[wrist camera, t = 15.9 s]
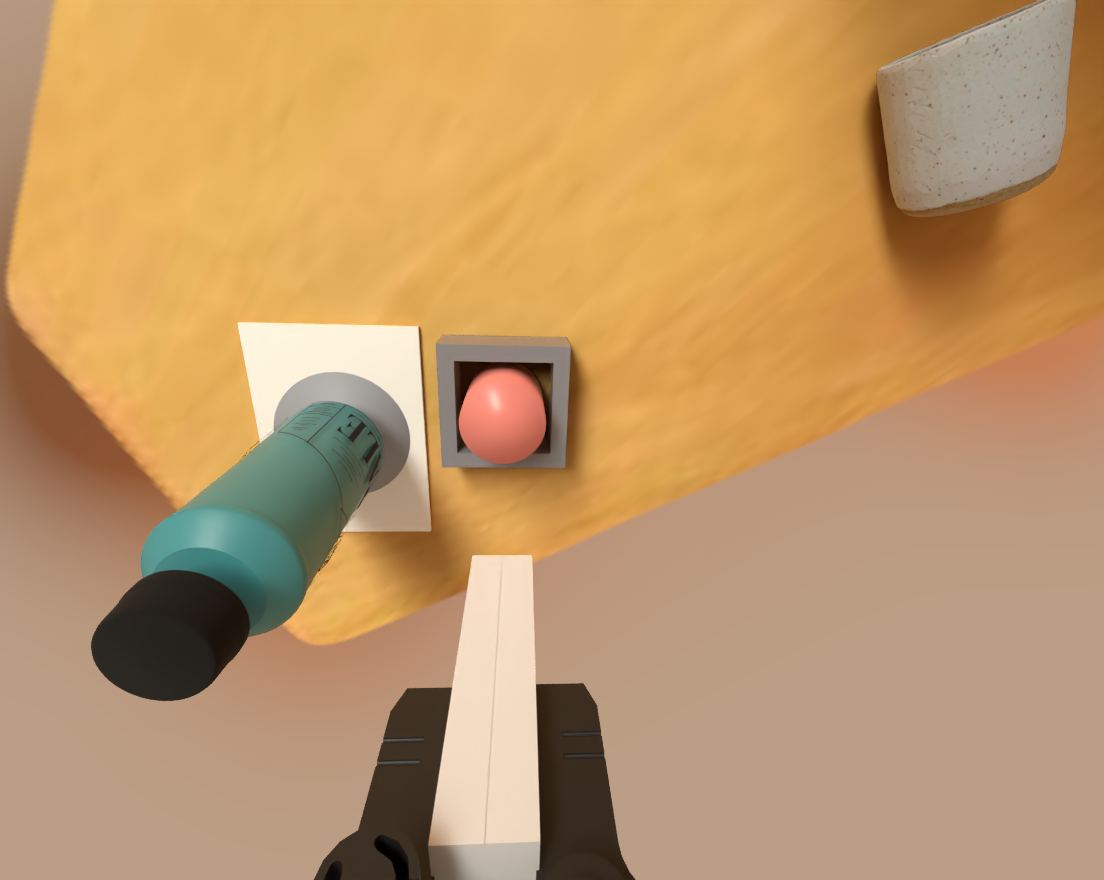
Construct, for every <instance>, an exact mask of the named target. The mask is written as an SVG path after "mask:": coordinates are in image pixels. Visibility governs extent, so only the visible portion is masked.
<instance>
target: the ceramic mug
mask: <svg viewBox="0 0 1104 880" xmlns="http://www.w3.org/2000/svg"><path fill="white" fill-rule="evenodd" d="M1075 9H1076V0H1038V1H1036V2H1033V3H1031V4H1028V5H1026V6H1023V7H1021V8H1019V9H1017V10H1014V11H1012V12H1010V13H1007V14H1005V15H1002V16H1000V17H997V18H995V19H992V20H990V21H988V22H986V23H983V24H980V25H978V26H975V27H973V28H971V29H969V30H966V31H964V32H961V33H959V34H956V35H954V36H951V37H949V38H946V39H944V40H942V41H940V42H938V43H936V44H933V45H931V46H929V47H926V48H923V49H921V50H918V51H916V52H914V53H912V54H909V55H907V56H905V57H903V58H900V59H898V60H896V61H894V62H891V63H889V64H887V65H885V66H883V67H881V68H879V70H878V71H877V74H876V82H877V88H878V95H879V102H880V109H881V117H882V124H883V131H884V140H885V146H886V153H887V160H888V170H889V180H890V188H891V191H892V194H893V197H894V200H895V203H896V205H897V207H898V209H899V210H900V211H901V212H902V213H904V214H906V215H908V216H911V217H936V216H943V215H950V214H956V213H960V212H965V211H969V210H973V209H977V208H981V207H984V206H988V205H991V204H995V203H997V202H1000V201H1003V200H1006V199H1009V198H1012V197H1014V196H1017V195H1019V194H1021V193H1024V192H1026V191H1028V190H1030V189H1032V188H1034V187H1035V186H1037V185H1039V184H1040V183H1041V182H1043V181H1044V180H1045V179H1047V178H1048V177H1049V176H1050V175H1051V174H1052V172H1053V171H1054V170H1055V168H1056V166H1057V163H1058V161H1059V158H1060V153H1061V148H1062V144H1063V139H1064V134H1065V130H1066V109H1067V89H1068V80H1069V71H1070V60H1071V49H1072V38H1073V28H1074V19H1075Z"/></svg>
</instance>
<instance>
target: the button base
mask: <svg viewBox="0 0 1104 880" xmlns="http://www.w3.org/2000/svg"><path fill="white" fill-rule="evenodd" d="M570 354H571V346H570V344H569V342H568V340H567V338H564V337H519V336H475V335H442V337H441V338H440V339H439V341H438V342H437V343H436V356H437V376H438V395H439V415H440V435H441V454H442V467H494V468H565V461H566V439H567V418H568V397H569V376H570ZM460 361H476V362H529V363H550V394H549V425H548V437H543V440H542V442H541V444H540V445H539V447H538V448H537V449H536V450H535V451H534V452H533V453H532V454H531V455H529V456H528V457H526V458H525V459H523V460H520V461H518V462H514V463H509V464H497V463H492V462H489V461H486V460H483V459H481V458H480V457H478V456H476V455H475V454H474V453H473V452H472V451H471V450H470V449H469V448H468V447H467V446H466V444H465V443H464V441H463V439H462V436H461V434H460V430H459V416H460V411H461V390H460Z"/></svg>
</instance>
